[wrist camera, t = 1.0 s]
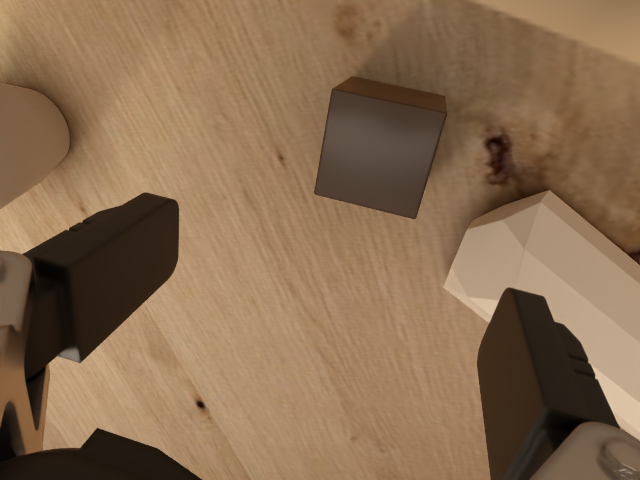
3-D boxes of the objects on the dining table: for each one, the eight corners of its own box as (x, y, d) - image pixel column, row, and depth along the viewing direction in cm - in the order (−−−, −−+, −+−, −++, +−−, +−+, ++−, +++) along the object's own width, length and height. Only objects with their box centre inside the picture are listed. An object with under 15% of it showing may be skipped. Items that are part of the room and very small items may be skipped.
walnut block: (351, 76, 23) (331, 88, 19) (445, 95, 23) (447, 113, 18) (334, 165, 26) (313, 194, 21) (419, 185, 25) (415, 220, 21)
